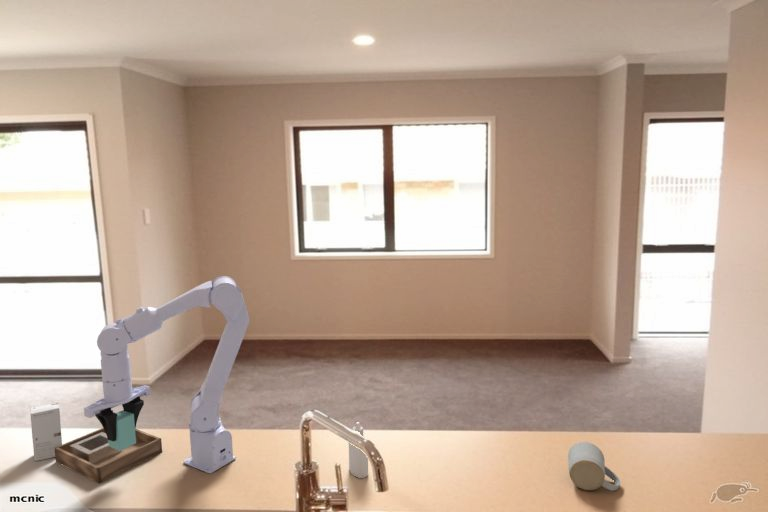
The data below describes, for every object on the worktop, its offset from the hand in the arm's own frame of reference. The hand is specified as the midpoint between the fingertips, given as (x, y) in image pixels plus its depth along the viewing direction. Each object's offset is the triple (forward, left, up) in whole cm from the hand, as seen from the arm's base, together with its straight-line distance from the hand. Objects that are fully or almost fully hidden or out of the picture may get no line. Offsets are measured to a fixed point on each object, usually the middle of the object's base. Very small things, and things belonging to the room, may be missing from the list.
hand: (121, 435), depth 121 cm
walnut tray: (+11, -3, -10) cm, 15 cm away
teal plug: (0, 0, -2) cm, 2 cm away
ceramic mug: (-92, -51, -10) cm, 105 cm away
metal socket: (+13, -1, -10) cm, 16 cm away
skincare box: (+25, +4, -10) cm, 27 cm away
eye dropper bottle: (-45, -28, -10) cm, 54 cm away
